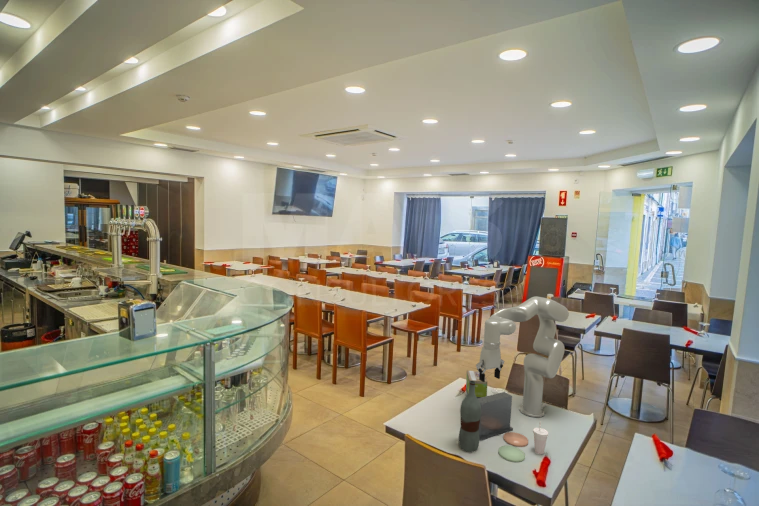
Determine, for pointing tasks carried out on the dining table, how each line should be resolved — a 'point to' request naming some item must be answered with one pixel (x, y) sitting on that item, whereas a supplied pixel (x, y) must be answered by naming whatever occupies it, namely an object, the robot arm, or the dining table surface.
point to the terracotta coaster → (515, 439)
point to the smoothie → (540, 439)
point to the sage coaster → (511, 453)
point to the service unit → (495, 415)
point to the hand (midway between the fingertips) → (489, 379)
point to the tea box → (476, 384)
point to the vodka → (470, 421)
